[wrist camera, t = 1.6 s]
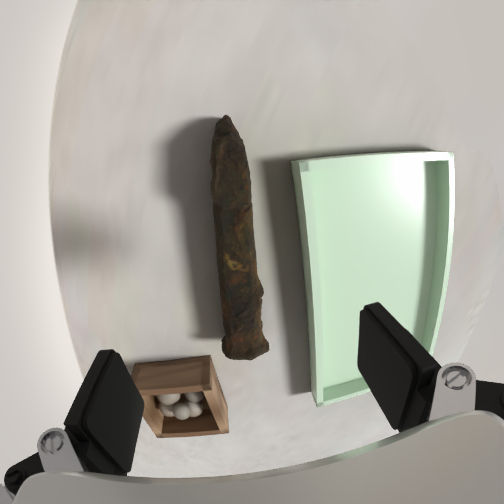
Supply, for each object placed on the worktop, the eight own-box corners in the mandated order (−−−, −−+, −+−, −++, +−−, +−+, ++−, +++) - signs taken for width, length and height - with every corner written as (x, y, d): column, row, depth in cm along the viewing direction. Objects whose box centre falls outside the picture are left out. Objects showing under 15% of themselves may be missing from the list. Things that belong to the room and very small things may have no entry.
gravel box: (135, 363, 26) (126, 392, 22) (210, 355, 26) (209, 386, 22) (161, 411, 29) (157, 439, 25) (227, 405, 29) (229, 435, 25)
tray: (290, 160, 21) (299, 162, 19) (436, 150, 22) (453, 152, 19) (311, 391, 30) (316, 407, 27) (418, 356, 30) (428, 368, 28)
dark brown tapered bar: (264, 334, 27) (272, 366, 22) (221, 337, 26) (223, 370, 22) (262, 118, 20) (273, 109, 16) (209, 119, 20) (206, 110, 16)
